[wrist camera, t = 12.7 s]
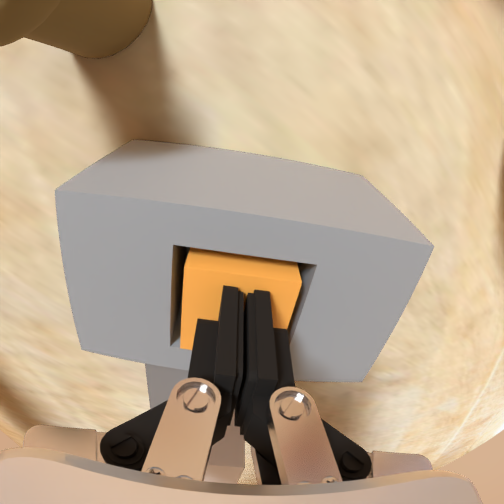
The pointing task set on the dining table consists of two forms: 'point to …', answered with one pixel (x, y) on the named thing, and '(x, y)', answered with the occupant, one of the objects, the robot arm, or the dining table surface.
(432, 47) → the dining table surface
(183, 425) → the robot arm
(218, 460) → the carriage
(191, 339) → the button
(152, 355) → the grey button housing
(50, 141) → the dining table surface
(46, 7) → the cork
